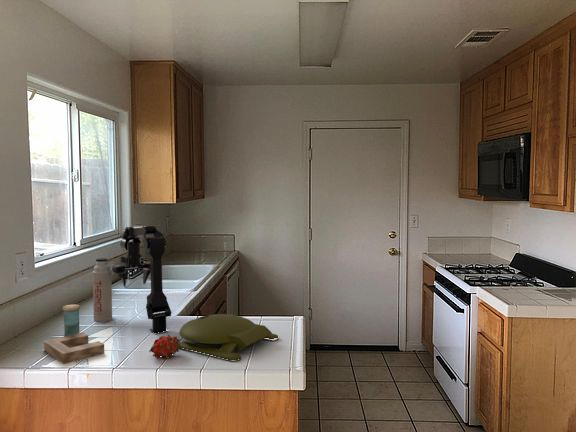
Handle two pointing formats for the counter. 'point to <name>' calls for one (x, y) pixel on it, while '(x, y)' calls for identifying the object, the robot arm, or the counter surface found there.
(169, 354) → the dragon fruit
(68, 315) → the cord reel
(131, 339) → the counter surface
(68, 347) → the cutout shelf
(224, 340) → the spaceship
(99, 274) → the thermos bottle
